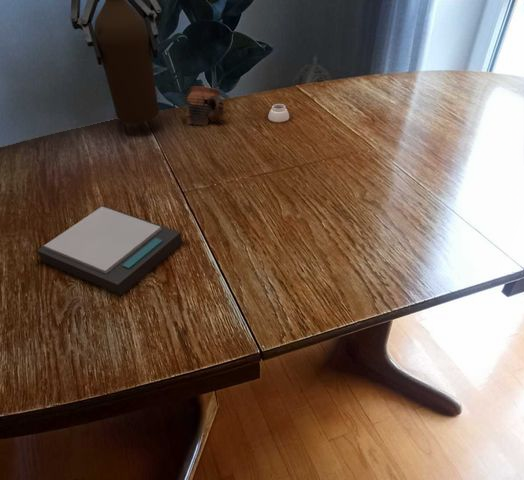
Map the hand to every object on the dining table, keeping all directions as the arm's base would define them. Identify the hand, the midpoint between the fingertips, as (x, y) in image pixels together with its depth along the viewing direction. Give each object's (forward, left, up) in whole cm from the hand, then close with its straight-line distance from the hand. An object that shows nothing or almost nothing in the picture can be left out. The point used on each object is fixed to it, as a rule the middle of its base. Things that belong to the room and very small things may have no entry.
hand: (127, 57), depth 94 cm
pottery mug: (+8, +14, -16) cm, 22 cm away
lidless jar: (+23, +22, -16) cm, 35 cm away
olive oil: (-2, +2, -12) cm, 13 cm away
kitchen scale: (+25, -37, -16) cm, 47 cm away
